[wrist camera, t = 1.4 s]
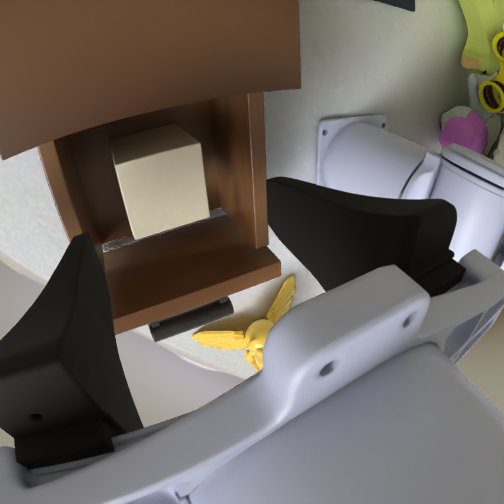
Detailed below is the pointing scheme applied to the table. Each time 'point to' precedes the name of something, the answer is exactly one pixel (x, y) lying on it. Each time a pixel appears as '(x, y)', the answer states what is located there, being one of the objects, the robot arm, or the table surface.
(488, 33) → the toy
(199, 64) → the cabinet
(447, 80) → the table surface
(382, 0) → the mat
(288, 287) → the figurine
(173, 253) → the drawer
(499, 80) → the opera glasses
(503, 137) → the running shoe
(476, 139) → the toy
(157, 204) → the block
